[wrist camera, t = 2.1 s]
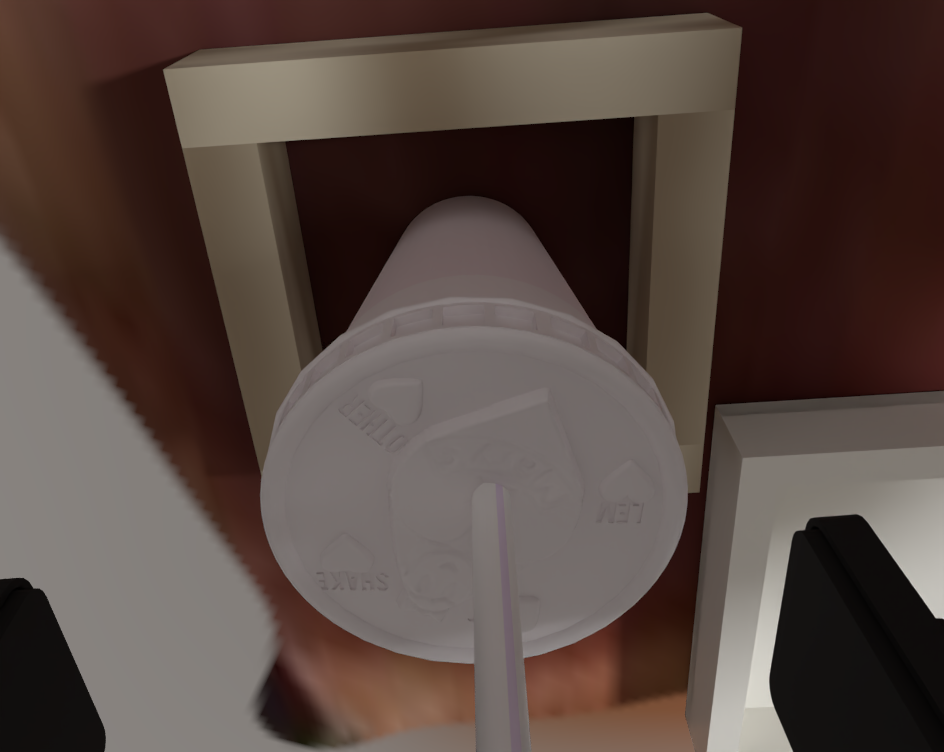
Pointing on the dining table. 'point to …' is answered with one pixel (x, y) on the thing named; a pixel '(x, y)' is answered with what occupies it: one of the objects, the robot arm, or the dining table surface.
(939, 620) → the robot arm
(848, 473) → the tray
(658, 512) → the smoothie
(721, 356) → the dining table surface
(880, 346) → the dining table surface
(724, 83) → the frame
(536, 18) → the dining table surface
